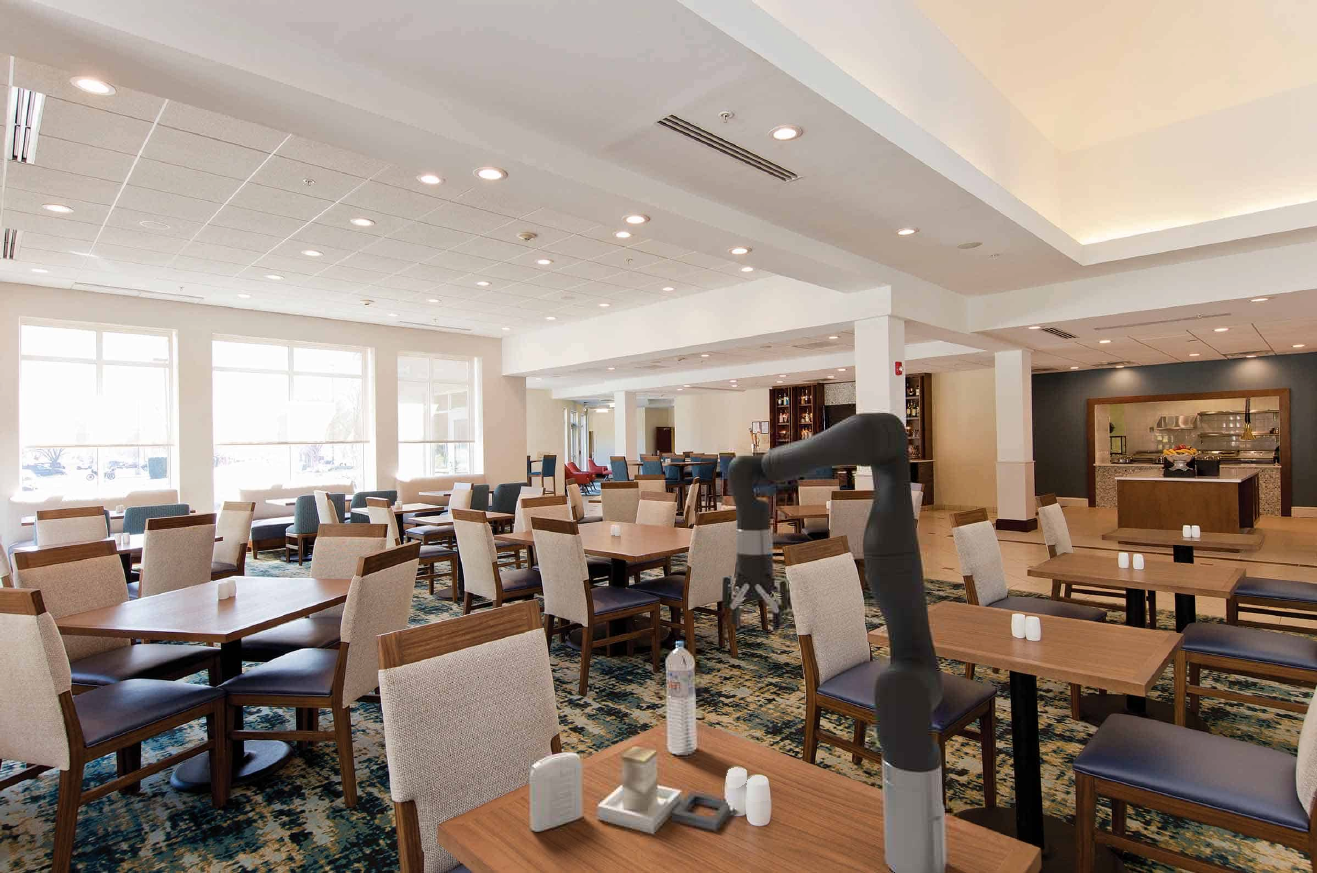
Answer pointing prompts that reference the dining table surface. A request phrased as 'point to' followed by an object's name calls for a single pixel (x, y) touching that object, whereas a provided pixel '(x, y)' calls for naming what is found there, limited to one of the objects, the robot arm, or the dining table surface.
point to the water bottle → (681, 701)
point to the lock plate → (712, 824)
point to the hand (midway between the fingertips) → (756, 628)
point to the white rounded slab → (555, 791)
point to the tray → (648, 823)
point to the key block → (639, 780)
